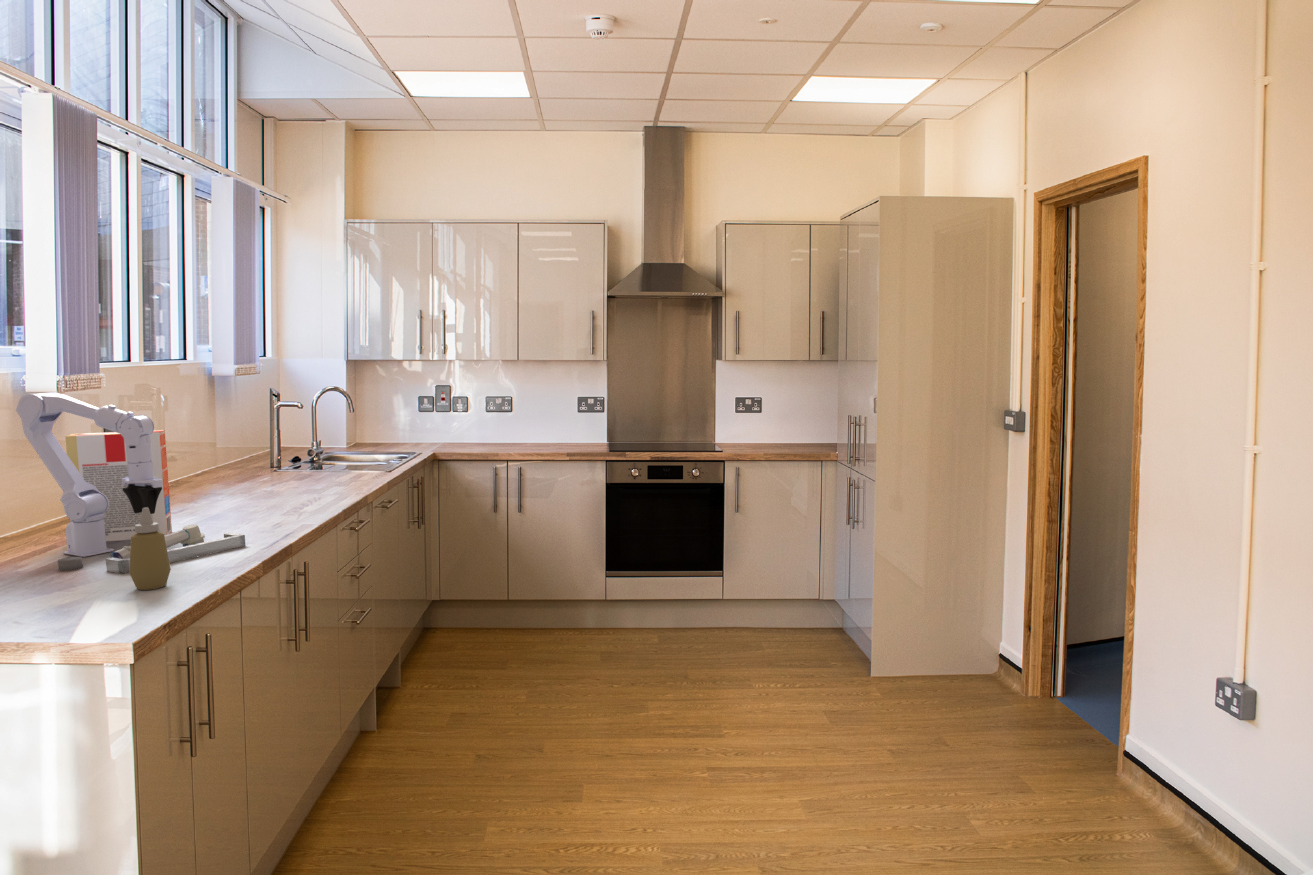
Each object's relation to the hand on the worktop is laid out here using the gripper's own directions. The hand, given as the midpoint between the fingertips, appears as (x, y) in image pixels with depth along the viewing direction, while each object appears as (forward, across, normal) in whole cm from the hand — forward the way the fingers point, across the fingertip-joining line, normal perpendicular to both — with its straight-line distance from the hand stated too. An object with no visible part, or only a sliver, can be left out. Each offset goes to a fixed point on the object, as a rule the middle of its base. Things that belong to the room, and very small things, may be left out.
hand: (144, 513), depth 236 cm
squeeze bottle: (+11, +36, -21) cm, 43 cm away
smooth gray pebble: (+10, 0, -19) cm, 22 cm away
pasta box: (+10, -25, +9) cm, 29 cm away
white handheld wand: (+11, +6, 0) cm, 13 cm away
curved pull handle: (+11, +14, 0) cm, 17 cm away
